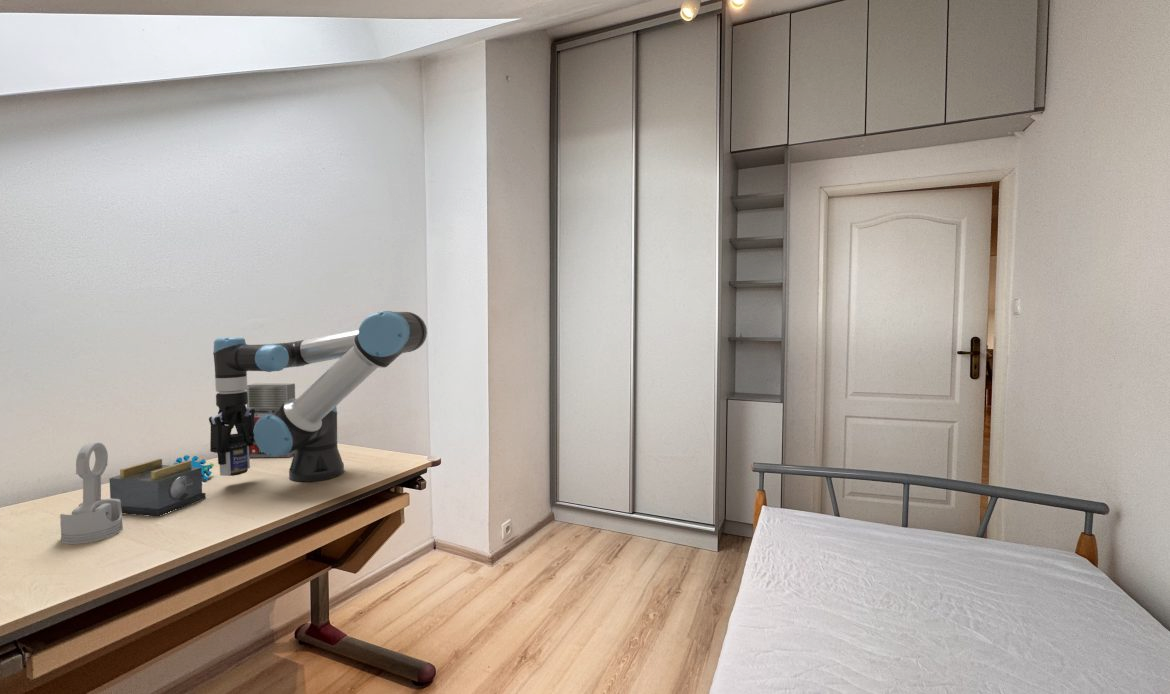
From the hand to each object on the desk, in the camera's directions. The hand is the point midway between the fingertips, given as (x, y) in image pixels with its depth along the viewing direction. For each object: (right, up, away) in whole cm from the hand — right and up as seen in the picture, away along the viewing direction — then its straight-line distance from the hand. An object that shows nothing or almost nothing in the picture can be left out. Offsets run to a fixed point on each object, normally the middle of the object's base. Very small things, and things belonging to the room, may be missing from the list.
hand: (235, 471), depth 150 cm
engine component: (-10, -6, -33) cm, 35 cm away
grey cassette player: (-9, -2, +32) cm, 33 cm away
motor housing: (-10, -5, -15) cm, 19 cm away
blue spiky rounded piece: (-15, -4, +4) cm, 16 cm away
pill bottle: (0, -1, 0) cm, 1 cm away
